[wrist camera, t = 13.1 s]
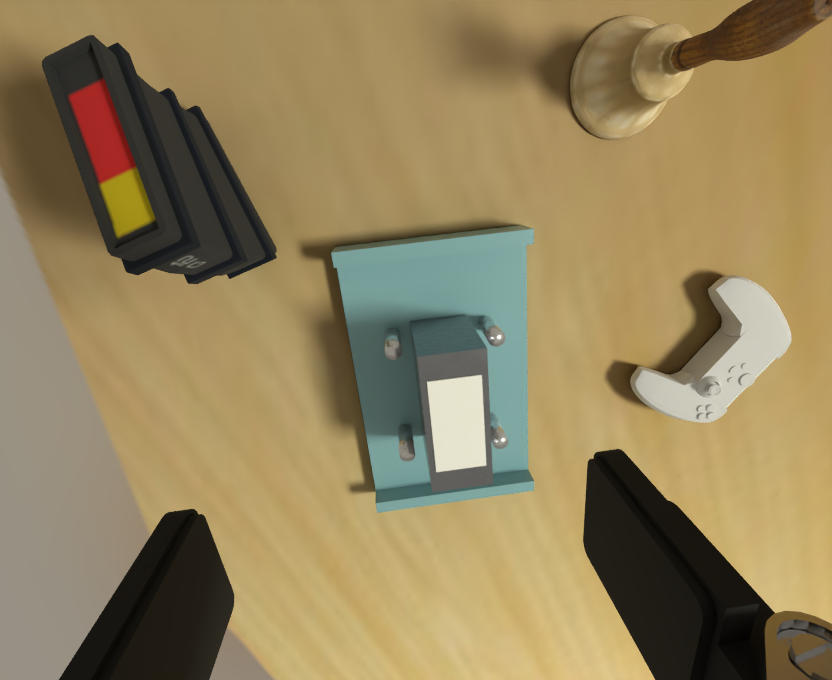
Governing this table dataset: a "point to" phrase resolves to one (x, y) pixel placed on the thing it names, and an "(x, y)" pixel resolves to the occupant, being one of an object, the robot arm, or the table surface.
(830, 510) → the table surface
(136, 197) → the black stepped block
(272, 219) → the table surface
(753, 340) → the game controller
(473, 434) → the block
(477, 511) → the table surface
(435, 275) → the pin tray
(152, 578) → the robot arm
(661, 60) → the hand bell
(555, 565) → the table surface
